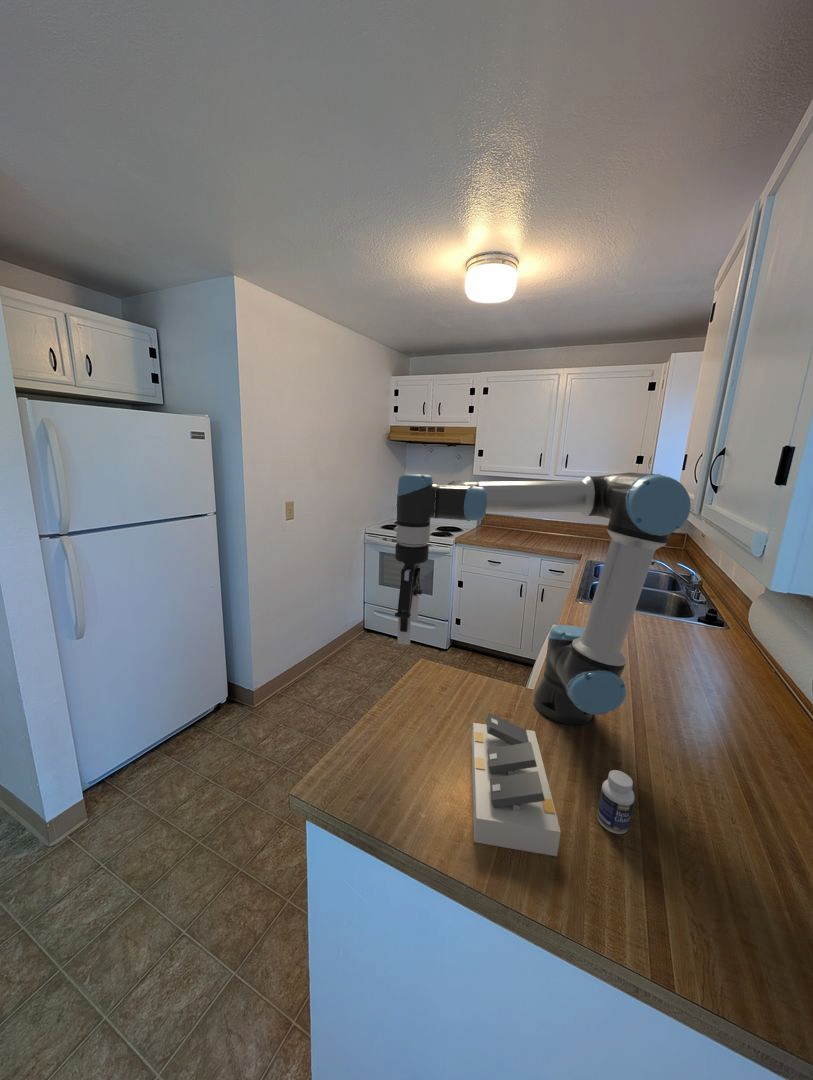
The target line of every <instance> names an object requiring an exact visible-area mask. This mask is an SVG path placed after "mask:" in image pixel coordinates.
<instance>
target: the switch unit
mask: <svg viewBox="0 0 813 1080" xmlns="http://www.w3.org/2000/svg"><path fill="white" fill-rule="evenodd" d="M525 730H526V732H527V736H528V741H529V742H531V744H532V748H533V752H534V756H535V761H536V765H537V767H532V768H526V769H519V770H513V771H506V772H500V773H493V774H491V773H490V770H489V765H488V752H487V749H491V748H497V747H503V746H509V745H512V744H510V743H508V742H505V741H503V740H501V739H499V738H497V737H495V736H493V735H491V734H488V733H487V725H486V723H477V722H476V723H475V722H472V731H471V742H470V743H471V771H472V773H471V776H472V777H471V778H472V779H471V780H472V781H471V782H472V812H473V813H472V814H473V815H472V817H473V819H472V820H473V822H472V824H473V842H474V843H476V844H477V843H478V844H482V845H483V844H484V845H488V846H495V847H500V848H504V849H505V848H507V849H511V850H517V851H523V852H528V853H529V852H530V853H535V854H542V855H545V856H553V857H558V851H559V846H560V839H561V832H562V831H561V828H560V824H559V819H558V815H557V812H556V808H555V804H554V801H553V797H552V793H551V789H550V785H549V782H548V776H547V773H546V769H545V765H544V762H543V758H542V753H541V749H540V746H539V742H538V739H537V734H536V731H535V730H530V729H529V730H528V729H525ZM536 771H538V774H539V778H540V782H541V786H542V790H543V795H544V799H545V801H540V802H533V803H526V804H519V805H511V806H504V807H497V808H493V804H492V801H491V790H490V778H497V777H503V776H510V775H517V774H523V773H530V772H536Z"/></svg>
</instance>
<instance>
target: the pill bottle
mask: <svg viewBox="0 0 813 1080" xmlns="http://www.w3.org/2000/svg"><path fill="white" fill-rule="evenodd" d="M633 781H634V780H633V779H632V778H631V776H630V775H628V774H627V773H625V772H623V771H621V770H616V769H613V770H610V771H609V773H608V777H607V779H605V780H604V781H603V782H602V784H601V785H602V786H601V790H600V795H599V800H598V801H599V802H598V806H597V809H596V810H597V811H596V817H597V821H598V822H599V824H600V825H601V826H602V827H603V828H604V829H606V831H608V832H611V833H613V834H617V835H623V834H625V833H627V832H628V830H629V828H630V822H631V820H632V819H631V817H632V813H633V809H634V805H635V804H634V803H635V799H636V797H635V793H634V791H633V785H634V782H633Z"/></svg>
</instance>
